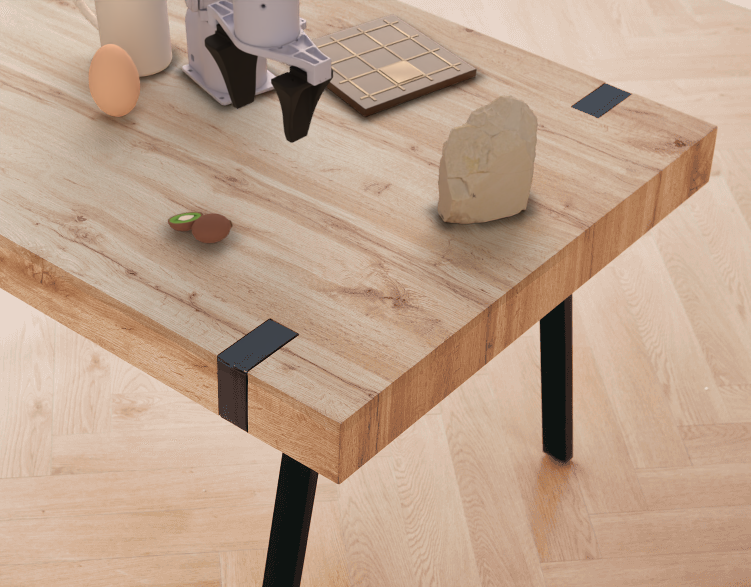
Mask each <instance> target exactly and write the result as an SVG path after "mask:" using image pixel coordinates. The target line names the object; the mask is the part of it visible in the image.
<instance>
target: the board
mask: <svg viewBox="0 0 751 587" xmlns="http://www.w3.org/2000/svg"><path fill="white" fill-rule="evenodd" d="M311 40H312V42H313V43H314V44H315V45H316V46H317V48H318V49H319V50H320V51H321V52H322V53H323V54H325V55H326V56H328V57H329V58H331V68H332V69H333V78H332V80H331V81H330V82H329V84H328V85H327V87H326V88H327V89H328V90H329V91H331V92H332V93H333V94H334V95H336V96H337V97H339V98H340V99H341V100H342V101H344V102H345V103H346V104H348V105H349V106H350V107H352V108H353V109H354V110H356V112H358V113H359V114H361V115H362V116H363V117H368V116H371V115H374V114H377V113H379V112H383V111H386V110H388V109H391V108H393V107H396V106H399V105H401V104H405V103H407V102H410V101H413V100H416V99H419V98H421V97H423V96H426V95H429V94H431V93H434V92H437V91H439V90H442V89H445V88H447V87H450V86H454V85H456V84H458V83H462V82H464V81H467V80H470V79H472V78H475V77H476V76H477V67H475V66H473V65H472V64H469V62H467V61H465V60H464V59H462V58H461V57H459V55H456V54H455V53H453V52H451V51H450V50H449V49H447V48H446V47H445V46H444V45H443V46H442V45H441V44H439V43H438V42H436V41H435V40H434V39H432V38H430V37H429V36H427V35H426V34H424V33H423V32H421V31H420V30H418V29H417V28H416V27H414V26H412V25H410V24H409V23H407V21H405V20H403V19H402V18H400V17H399V16H397V15H396V14H394V13H392V14H390V15H385V16H382V17H379V18H376V19H372V20H370V21H366V22H363V23H360V24H357V25H354V26H351V27H347V28H344V29H341V30H338V31H335V32H332V33H328V34H325V35H321V36H319V37H316V38H313V39H311Z"/></svg>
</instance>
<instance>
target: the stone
mask: <svg viewBox="0 0 751 587" xmlns="http://www.w3.org/2000/svg"><path fill="white" fill-rule="evenodd" d="M538 123H539V122H538V116H537V115H536V114H535V113H534V110H533V109H531V108H530V106H529V104H528V103H527V102H526V101H524V100H522V99H520V98H517V97H515V96H513V95H500V96H498V97H497V98H495V99H494V100H492V101H491V102H489V103H488V104H486V105H484V106H481V107H480V106H479V108H476V109H474V110H473V111H471V112H470V115H469V116H468V118H467V120H466V121H465V123H463V124H462V125H458V126H454V127H453V128H452V129H450V131H449V134H448V137H447V140H446V141H444V143H443V144H442V152H441V153H442V155H441V158H440V160H439V166H438V179H437V186H438V188H437V189H438V202H437V207H436V208H437V213H438V215H439V217H440V218H441V219H442V221H443V222H444V223H449V224H461V225H469V224H475V223H476V224H479V223H486V222H491V221H496V220H500V219H504V218H509V217H513V216H515V215H518V214H519V213H521V212H522V211H526V210H527V206H528V203H529V198H530V194H531V189H532V184H533V177H534V170H535V160H536V157H537V156H536V155H537V153H536V147H537V143H538V136H537V135H538V134H537V133H538V126H539V125H538Z"/></svg>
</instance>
